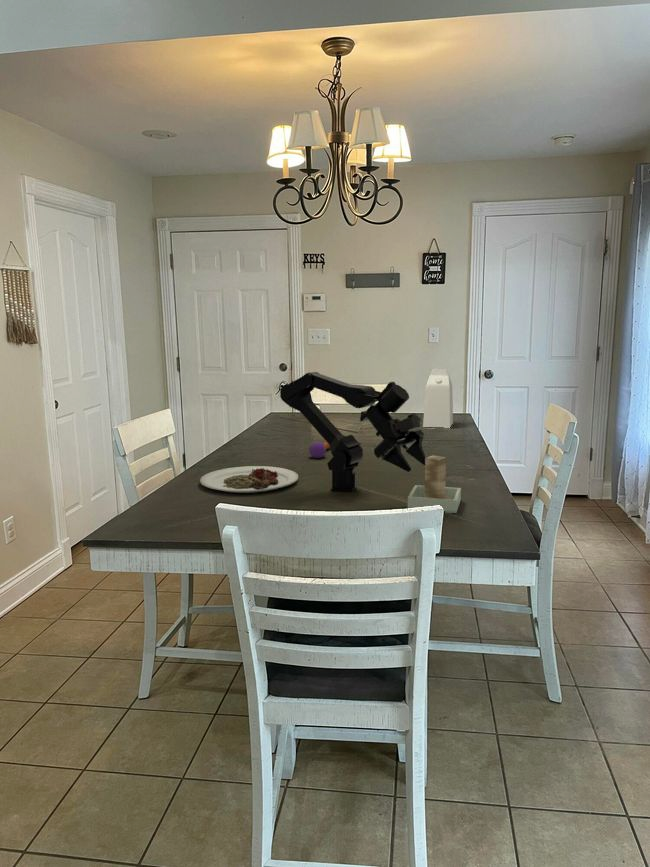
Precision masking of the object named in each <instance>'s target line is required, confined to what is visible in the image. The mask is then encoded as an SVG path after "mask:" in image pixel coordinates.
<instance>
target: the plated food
mask: <svg viewBox="0 0 650 867" xmlns="http://www.w3.org/2000/svg"><path fill="white" fill-rule="evenodd" d="M298 479H299V474H298V473H297V472H296V471H293V470H290V469H287V468H283V467H277V466H276V467H275V466H267V465H265V466H264V465H263V466H262V465H252V466H251V465H249V466H237V467H235V466H234V467H228V468H222V469H218V470H214V471H211V472H208V473H206V474H204V475H203V476H201V477H200V481H199V482H200V484H201V485H202V486H203V487H206V488H209V489H212V490H217V491H222V492H229V493H236V494H237V493H241V494H242V493H243V494H245V493H247V494H249V493H260V492H261V493H263V492H268V491H273V490H277V489H279V488H280V489H281V488H284V487H287V486H290V485H292V484H294V483H296V482H297V481H298Z"/></svg>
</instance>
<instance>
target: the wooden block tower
mask: <svg viewBox="0 0 650 867" xmlns="http://www.w3.org/2000/svg"><path fill="white" fill-rule="evenodd" d="M446 472H447V457H446V456H439V455H430V456H428V457H426V458H425V465H424V486H425V496H424V497H423V498H437V499H452V500H453V498H450V497H445V487H446V480H447V478H446V476H447V475H446V474H447V473H446Z"/></svg>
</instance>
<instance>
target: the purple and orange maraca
mask: <svg viewBox="0 0 650 867" xmlns="http://www.w3.org/2000/svg"><path fill="white" fill-rule="evenodd" d="M308 450H309V451H308V453H309V455H310V456H311V457H312V458H314V459H321V458H323V457H324V456H325V455H326V452H327V450H331V449H330V445H329V444H328V443H327V442H326V441H324V443H323V442H320V441H315V442H313V443H312V444H310V445H309V449H308Z"/></svg>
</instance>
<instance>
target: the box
mask: <svg viewBox="0 0 650 867" xmlns="http://www.w3.org/2000/svg"><path fill="white" fill-rule="evenodd" d="M461 494H462V488H461V487H450V486H449V487H448V486H445V497H450V498H453V500H452V499H437V498H423V497H424V496H425V485H420V484H419V485H417V484H415V485H414V487H413V488H412V489H411V491H410V493H409V494H408V496H407V509H408V508H412V507H423V506H433V505H440V506H442V507H443V508H444V511H445V513H444V514H452V513H456V514H457V512H458V509H459V507H460V503H461V500H462V499H461V498H462V497H461V496H462V495H461Z"/></svg>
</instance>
